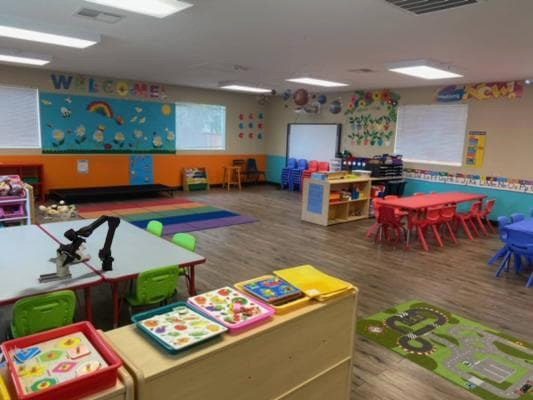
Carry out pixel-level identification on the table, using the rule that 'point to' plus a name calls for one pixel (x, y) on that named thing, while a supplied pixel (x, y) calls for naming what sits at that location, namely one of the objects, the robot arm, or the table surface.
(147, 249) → the table surface
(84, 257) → the animal model
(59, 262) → the grey green block
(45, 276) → the door track
